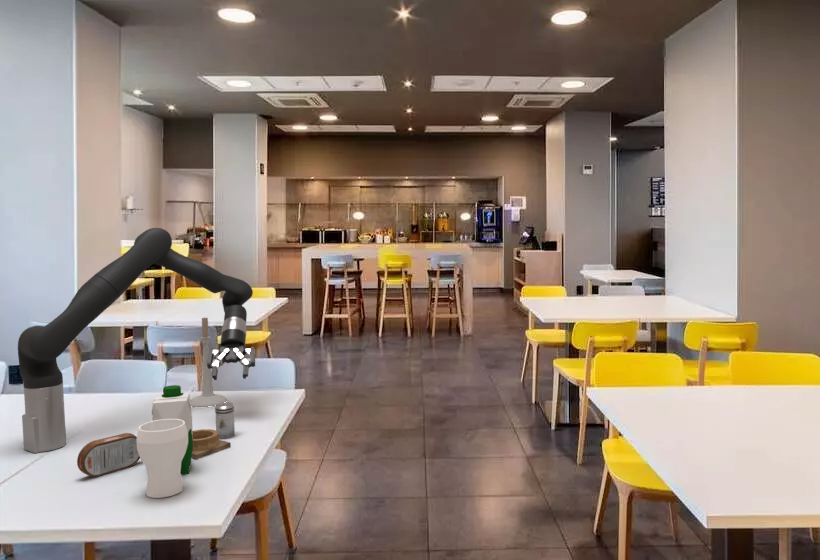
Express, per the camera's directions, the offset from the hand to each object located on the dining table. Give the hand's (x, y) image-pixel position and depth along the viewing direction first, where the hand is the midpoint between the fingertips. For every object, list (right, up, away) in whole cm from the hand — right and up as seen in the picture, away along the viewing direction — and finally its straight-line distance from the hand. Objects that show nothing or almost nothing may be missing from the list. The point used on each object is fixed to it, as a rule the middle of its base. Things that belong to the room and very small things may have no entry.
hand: (229, 378), depth 184 cm
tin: (-18, -17, -35) cm, 43 cm away
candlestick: (-16, -13, +27) cm, 34 cm away
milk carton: (-3, -17, -36) cm, 40 cm away
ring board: (-2, -16, -21) cm, 26 cm away
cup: (0, -18, -48) cm, 51 cm away
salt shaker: (+2, -15, -10) cm, 18 cm away
